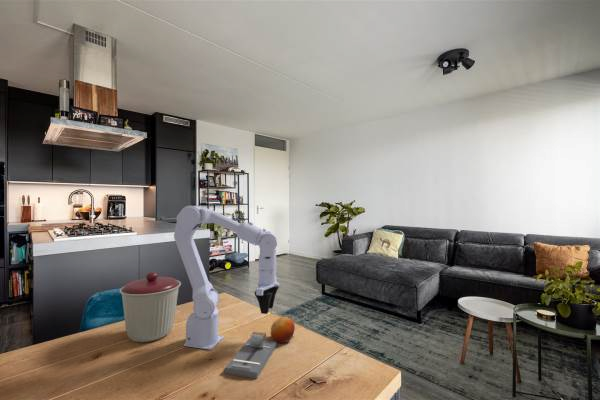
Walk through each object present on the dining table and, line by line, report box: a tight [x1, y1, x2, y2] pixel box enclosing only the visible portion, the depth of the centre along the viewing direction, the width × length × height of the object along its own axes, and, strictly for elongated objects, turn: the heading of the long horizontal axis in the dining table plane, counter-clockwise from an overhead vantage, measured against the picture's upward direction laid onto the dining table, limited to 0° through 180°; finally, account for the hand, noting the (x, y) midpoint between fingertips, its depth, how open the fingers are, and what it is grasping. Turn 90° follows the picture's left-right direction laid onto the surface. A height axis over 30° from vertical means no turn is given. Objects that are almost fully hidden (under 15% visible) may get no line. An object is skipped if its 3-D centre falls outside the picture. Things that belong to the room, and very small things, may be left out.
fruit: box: [270, 316, 296, 344], centre depth 89 cm, size 8×8×8 cm
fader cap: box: [250, 330, 267, 348], centre depth 81 cm, size 4×2×4 cm, turn 77°
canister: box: [119, 271, 182, 343], centre depth 91 cm, size 18×18×21 cm
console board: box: [224, 337, 277, 380], centre depth 77 cm, size 9×16×2 cm, turn 167°
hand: (266, 310), depth 89 cm, fingers open, 4 cm apart
